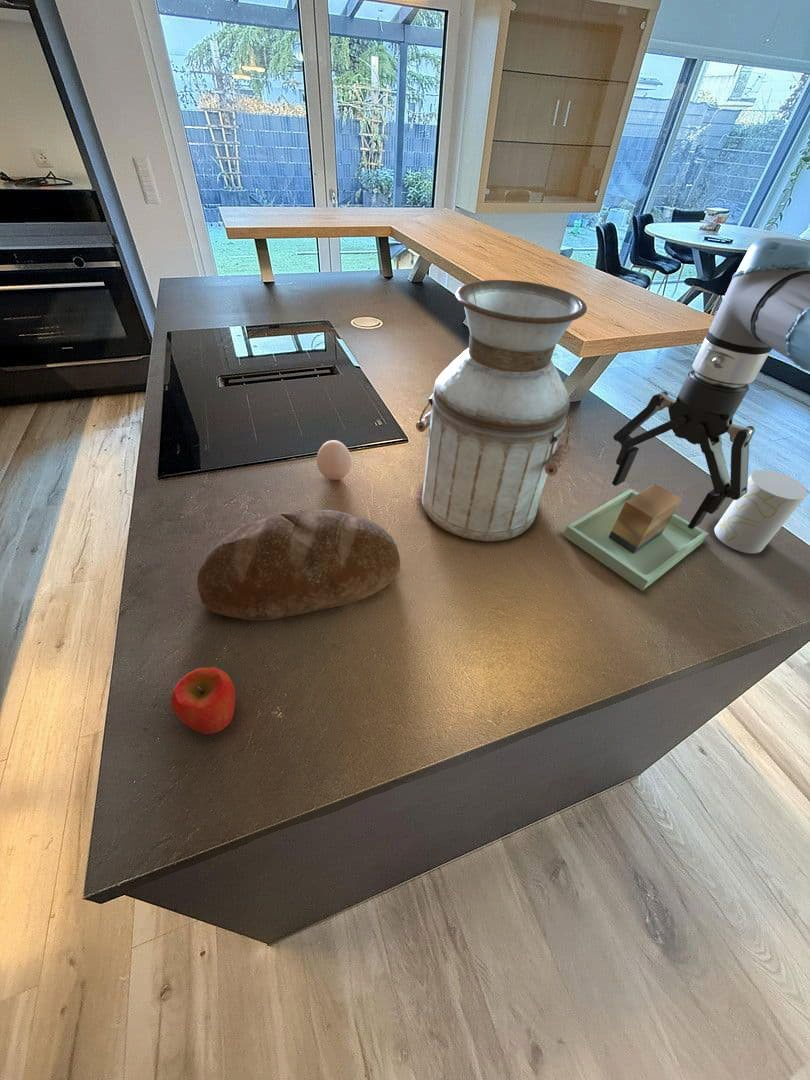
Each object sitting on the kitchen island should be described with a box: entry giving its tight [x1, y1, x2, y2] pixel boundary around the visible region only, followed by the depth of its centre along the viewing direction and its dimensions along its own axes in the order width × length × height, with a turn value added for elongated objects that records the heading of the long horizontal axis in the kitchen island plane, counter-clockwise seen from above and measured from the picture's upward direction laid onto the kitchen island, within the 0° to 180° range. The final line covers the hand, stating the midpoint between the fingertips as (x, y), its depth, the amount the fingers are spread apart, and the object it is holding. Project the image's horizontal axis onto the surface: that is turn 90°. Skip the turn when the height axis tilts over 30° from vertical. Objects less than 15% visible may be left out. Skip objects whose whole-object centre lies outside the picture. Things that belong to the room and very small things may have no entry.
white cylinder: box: [714, 469, 808, 554], centre depth 80 cm, size 8×8×12 cm
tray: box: [563, 488, 709, 592], centre depth 81 cm, size 16×20×2 cm
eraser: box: [609, 483, 683, 554], centre depth 79 cm, size 5×9×8 cm, turn 127°
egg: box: [316, 439, 353, 481], centre depth 88 cm, size 7×7×8 cm
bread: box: [196, 509, 401, 622], centre depth 67 cm, size 16×29×11 cm, turn 107°
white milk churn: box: [415, 279, 588, 542], centre depth 75 cm, size 25×22×36 cm
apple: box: [170, 666, 236, 735], centre depth 52 cm, size 6×6×8 cm
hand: (653, 502), depth 76 cm, fingers open, 13 cm apart
